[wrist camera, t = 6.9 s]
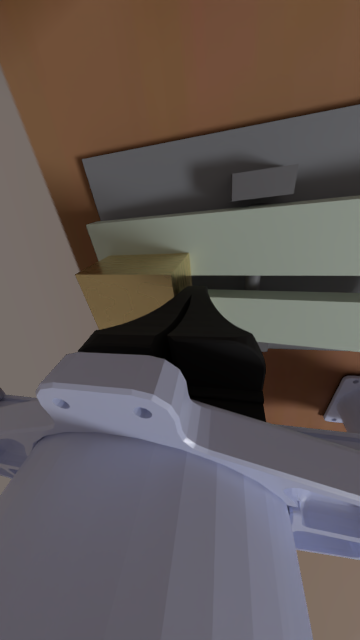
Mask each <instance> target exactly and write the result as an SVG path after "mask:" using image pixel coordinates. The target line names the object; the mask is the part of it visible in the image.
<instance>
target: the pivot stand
mask: <svg viewBox="0 0 360 640" xmlns="http://www.w3.org/2000/svg"><path fill="white" fill-rule="evenodd" d="M82 162H83V165H84V168H85V172H86V175H87V178H88V181H89V184H90V188H91V191H92V194H93V197H94V201H95V204H96V207H97V210H98V213H99V217H100V220H101V221H108V220H118V219H128V218H138V217H148V216H158V215H168V214H178V213H188V212H198V211H208V210H218V209H228V208H238V207H248V206H250V205H251V204H256V203H269V204H278V203H288V202H298V201H308V200H318V199H328V198H338V197H348V196H358V195H360V104H359V105H354V106H349V107H344V108H339V109H334V110H329V111H324V112H319V113H314V114H309V115H304V116H299V117H294V118H288V119H283V120H278V121H273V122H268V123H263V124H258V125H253V126H248V127H243V128H238V129H233V130H228V131H223V132H218V133H213V134H207V135H202V136H197V137H192V138H187V139H182V140H177V141H172V142H167V143H162V144H157V145H152V146H147V147H142V148H137V149H131V150H126V151H121V152H116V153H111V154H106V155H101V156H96V157H91V158H86V159H82ZM245 276H246V275H191V277H192V286H207V287H208V289H216V290H245ZM259 291H298V292H340V293H360V276H261V278H260V287H259ZM257 343H258V345H259V347H260V349H261V352H267V350H268V348H273V349H303V350H333V351H346V350H335V349H325V348H315V347H305V346H295V345H285V344H275V343H265V342H257Z"/></svg>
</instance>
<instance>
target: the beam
mask: <svg viewBox="0 0 360 640" xmlns="http://www.w3.org/2000/svg"><path fill="white" fill-rule="evenodd" d="M86 227H87V230H88V233H89V235H90V238H91V241H92V244H93V247H94V250H95V252H96V255H97V258H98V261H100V260H102V259H104V258H106V257H107V256H111V255H141V254H171V253H189V256H190V266H191V275H246V276H245V290H216V289H208V294H209V297H210V299H211V301H212V302H213V304H214V306H215V307H216V309H217V310H218V311H219V312H220V313H221V315H222V316H223V317H224V318H226V319H227V320H228V321H229V322H231V323H232V324H234V325H235V326H237V327H239V328H241V329H243V330H245V331H248V332H250V333H252V334H253V336H254V337H255V339H256V341H257V342H265V343H275V344H285V345H295V346H305V347H315V348H325V349H335V350H346V351H356V352H360V293H340V292H298V291H259V287H260V278H261V276H360V195H358V196H348V197H338V198H328V199H318V200H308V201H298V202H288V203H278V204H269V203H256V204H251V205H250V206H248V207H238V208H228V209H218V210H208V211H198V212H188V213H178V214H168V215H158V216H148V217H138V218H128V219H118V220H108V221H98V222H94V223H90V224H87V225H86Z"/></svg>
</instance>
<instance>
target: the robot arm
mask: <svg viewBox="0 0 360 640" xmlns="http://www.w3.org/2000/svg"><path fill="white" fill-rule="evenodd" d="M265 373H266V365H265V360H264V357H263V354H262V352H261V349H260V347H259V345H258V343H257V341H256V339H255V337H254V336H253V334H252V333H250V332H248V331H245V330H243V329H241V328H239V327H237V326H235V325H234V324H232V323H231V322H229V321H228V320H227V319H226V318H224V317H223V316H222V315H221V313H220V312H219V311H218V310H217V309H216V307H215V306H214V304H213V302H212V301H211V299H210V297H209V294H208V287H207V286H187V287H185V288H184V289H183V290H182V291H181V292H179V293H178V294H177V295H176V296H174V297H173V298H172V299H171V300H169V301H168V302H166V303H165V304H164V305H162V306H161V307H159V308H157V309H156V310H154V311H152V312H150V313H148V314H146V315H144V316H142V317H139V318H137V319H135V320H132V321H129V322H127V323H123V324H120V325H117V326H113V327H109V328H105V329H100V330H96V331H94V333H93V334H92V335H91V336H90V338H89V339H88V340H87V341H86V342H85V343H84V345H83V346H82V347H81V348H80V349H79V350H78V352H76V353H72V354H68V355H66V356H65V357H64V358H63V359H62V360H61V361H60V362H59V363H58V365H56V366H55V368H54V369H53V370H52V371H51V372H50V373H49V374H48V375H47V376H46V378H45V379H44V380H43V381H42V382H41V383H40V384H39V387H38V388H37V390H36V396H37V398H31V397H22V396H13V395H5V393H4V391H3V390H2V389H1V388H0V475H1V476H4V477H8V478H10V479H12V480H11V481H10V482H9V484H8V485H7V487H6V488H5V489H4V491H3V492H2V494H1V495H0V640H313V637H312V631H311V626H310V621H309V616H308V610H307V605H306V600H305V595H304V589H303V584H302V578H301V573H300V568H299V563H298V557H297V552H296V550H302V551H308V552H314V553H320V554H327V555H332V556H339V557H345V558H351V559H357V560H360V376H345V377H344V378H343V379H342V381H341V383H340V385H339V387H338V389H337V391H336V393H335V394H334V396H333V398H332V400H331V402H330V404H329V406H328V408H327V410H326V412H325V414H324V416H323V417H324V420H326V421H329V422H339V423H343V424H344V426H345V428H346V430H347V432H339V431H330V430H320V429H311V428H302V427H293V426H284V425H275V424H270V423H267V422H266V419H265V413H264V407H263V404H264V396H263V391H262V390H263V384H264V378H265Z"/></svg>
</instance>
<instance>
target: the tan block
mask: <svg viewBox="0 0 360 640" xmlns="http://www.w3.org/2000/svg"><path fill="white" fill-rule="evenodd" d="M75 275H76V278H77V280H78V282H79V284H80V287H81V289H82V291H83V294H84V296H85V298H86V301H87V303H88V305H89V308H90V310H91V312H92V314H93V316H94V319H95V321H96V323H97V326H98V328H99V330H100V329H105V328H109V327H113V326H117V325H120V324H123V323H127V322H129V321H132V320H135V319H137V318H139V317H142V316H144V315H146V314H148V313H150V312H152V311H154V310H156V309H157V308H159V307H161V306H162V305H164V304H165V303H166V302H168V301H169V300H171V299H172V298H173V297H174V296H176V295H177V294H178V293H179V292H181V291H182V290H183V289H184V288H185V287H187V286H192V277H191V266H190V256H189V253H171V254H141V255H111V256H107V257H106V258H104V259H102V260H100V261H98V262H97V263H95V264H93V265H91V266H90V267H88V268H86V269H84V270H82V271H81V272H79V273H77V274H75Z"/></svg>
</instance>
